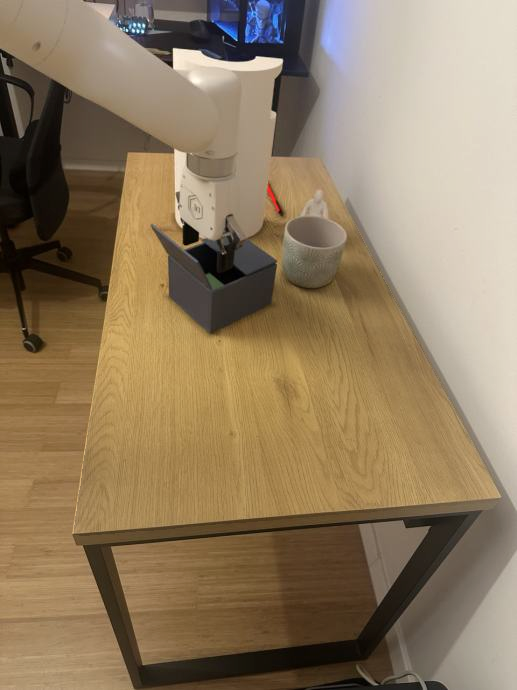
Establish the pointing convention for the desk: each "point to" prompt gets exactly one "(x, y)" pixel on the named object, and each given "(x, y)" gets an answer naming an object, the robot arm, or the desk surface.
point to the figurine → (316, 206)
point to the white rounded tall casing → (243, 132)
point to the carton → (239, 284)
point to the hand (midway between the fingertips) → (207, 256)
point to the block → (214, 281)
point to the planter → (312, 250)
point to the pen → (274, 200)
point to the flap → (182, 257)
